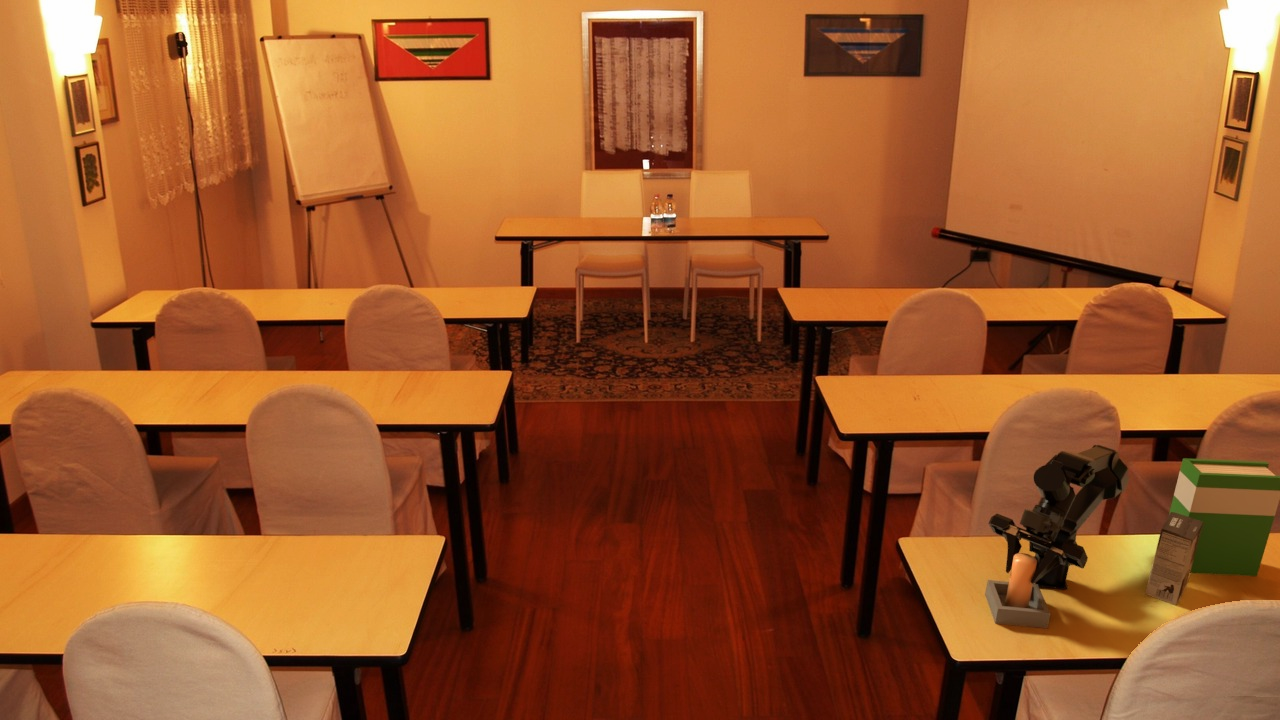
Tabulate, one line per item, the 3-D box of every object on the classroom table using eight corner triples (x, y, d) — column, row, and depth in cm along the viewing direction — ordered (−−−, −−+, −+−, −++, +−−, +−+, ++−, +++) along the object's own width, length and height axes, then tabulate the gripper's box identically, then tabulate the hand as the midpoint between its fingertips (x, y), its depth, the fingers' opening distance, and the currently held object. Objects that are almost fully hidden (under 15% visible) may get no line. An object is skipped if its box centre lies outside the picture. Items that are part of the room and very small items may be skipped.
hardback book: (1239, 557, 220) (1266, 461, 212) (1256, 576, 214) (1285, 478, 205) (1159, 553, 221) (1183, 458, 212) (1174, 572, 214) (1199, 474, 205)
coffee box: (1154, 575, 213) (1171, 510, 207) (1187, 587, 209) (1205, 520, 203) (1143, 594, 206) (1160, 527, 200) (1177, 606, 202) (1195, 538, 196)
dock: (1034, 598, 204) (1037, 584, 202) (1047, 628, 194) (1050, 613, 193) (985, 594, 205) (987, 579, 203) (995, 623, 195) (998, 608, 194)
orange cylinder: (1031, 605, 199) (1040, 559, 195) (1022, 615, 196) (1031, 567, 192) (1011, 596, 202) (1019, 550, 198) (1001, 605, 199) (1009, 559, 195)
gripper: (999, 478, 199) (966, 545, 196) (1093, 512, 187) (1059, 584, 184) (1010, 498, 207) (978, 564, 204) (1101, 532, 195) (1068, 602, 192)
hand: (1019, 577), depth 195 cm, fingers open, 5 cm apart
